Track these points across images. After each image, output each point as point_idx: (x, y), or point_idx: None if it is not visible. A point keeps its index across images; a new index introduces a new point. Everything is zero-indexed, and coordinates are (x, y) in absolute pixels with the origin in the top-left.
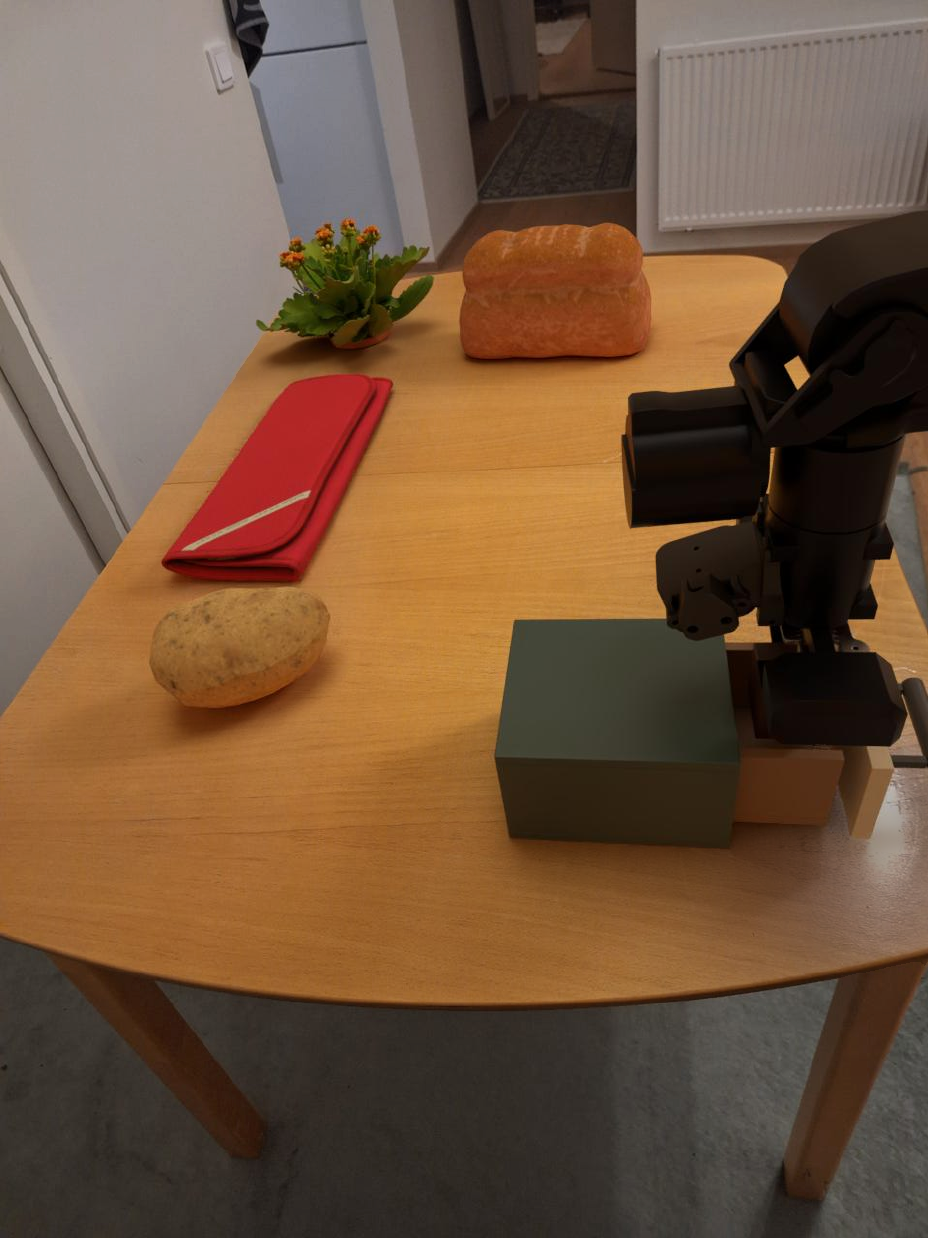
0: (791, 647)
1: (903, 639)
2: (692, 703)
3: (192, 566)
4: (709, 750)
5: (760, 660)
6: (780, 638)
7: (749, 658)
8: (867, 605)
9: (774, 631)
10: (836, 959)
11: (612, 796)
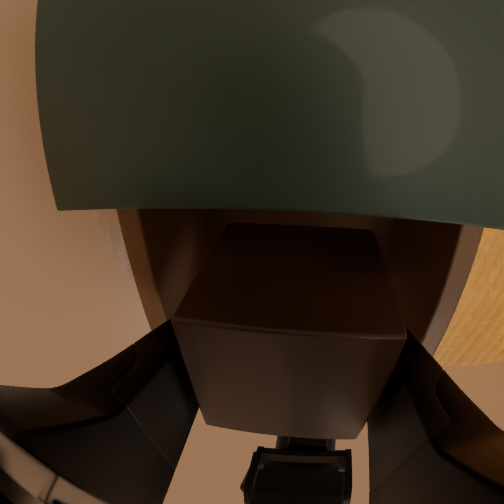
0: (355, 404)
1: (456, 358)
2: (203, 86)
3: None
4: (62, 147)
5: (20, 446)
6: (396, 390)
7: (439, 254)
8: None
9: (407, 403)
10: (102, 231)
11: None
